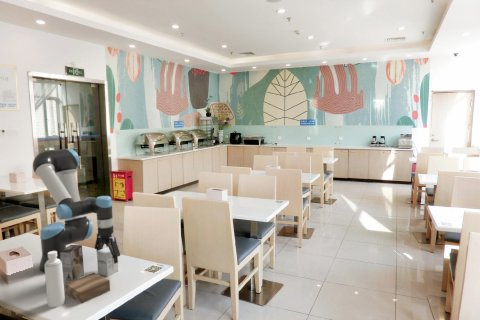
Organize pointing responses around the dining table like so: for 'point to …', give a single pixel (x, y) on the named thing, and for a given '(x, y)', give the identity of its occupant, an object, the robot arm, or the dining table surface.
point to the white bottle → (54, 280)
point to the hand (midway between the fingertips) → (108, 265)
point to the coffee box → (72, 262)
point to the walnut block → (87, 287)
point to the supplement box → (105, 262)
